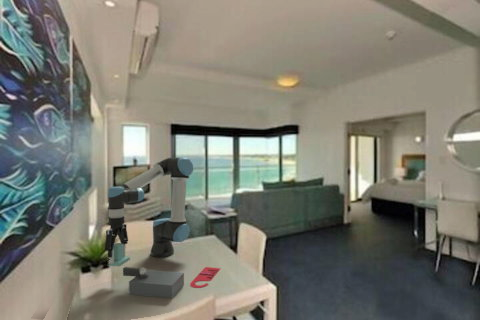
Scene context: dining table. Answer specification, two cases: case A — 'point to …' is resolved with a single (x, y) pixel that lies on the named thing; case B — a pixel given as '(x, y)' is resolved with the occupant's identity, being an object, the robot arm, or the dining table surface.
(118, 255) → the cover
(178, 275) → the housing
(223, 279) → the dining table surface
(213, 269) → the door hanger
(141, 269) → the grey lever handle
